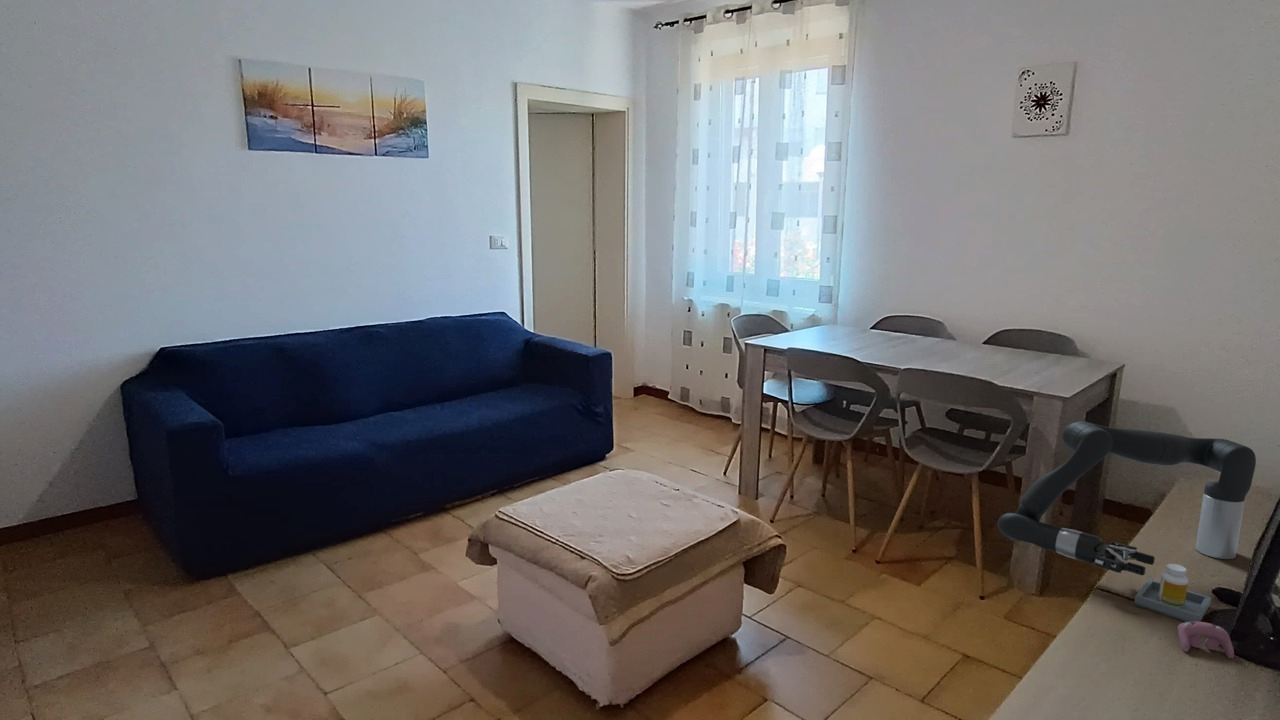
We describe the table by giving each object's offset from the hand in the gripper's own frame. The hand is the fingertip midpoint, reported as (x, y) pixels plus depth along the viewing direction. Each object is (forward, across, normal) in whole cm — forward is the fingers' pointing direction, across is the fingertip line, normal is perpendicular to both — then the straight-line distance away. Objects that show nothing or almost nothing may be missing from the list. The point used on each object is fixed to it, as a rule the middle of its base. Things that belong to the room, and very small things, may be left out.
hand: (1149, 566), depth 184 cm
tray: (+6, 0, +9) cm, 10 cm away
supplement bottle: (+5, 0, +8) cm, 10 cm away
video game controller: (+15, -18, +9) cm, 25 cm away
